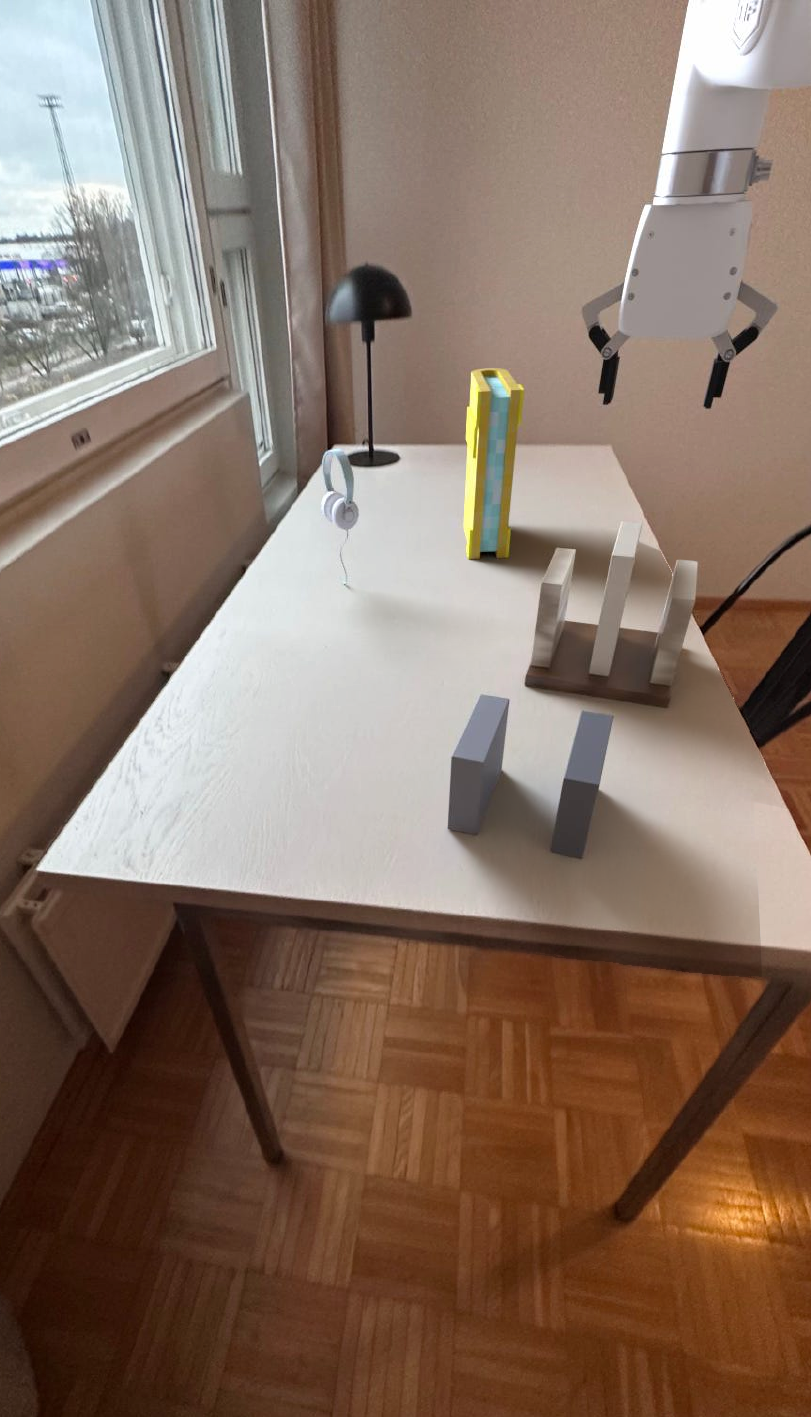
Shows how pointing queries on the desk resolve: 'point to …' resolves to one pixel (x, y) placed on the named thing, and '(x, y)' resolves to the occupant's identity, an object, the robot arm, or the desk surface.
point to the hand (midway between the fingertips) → (656, 403)
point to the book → (490, 460)
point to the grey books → (482, 765)
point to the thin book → (615, 597)
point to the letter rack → (638, 654)
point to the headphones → (339, 495)
